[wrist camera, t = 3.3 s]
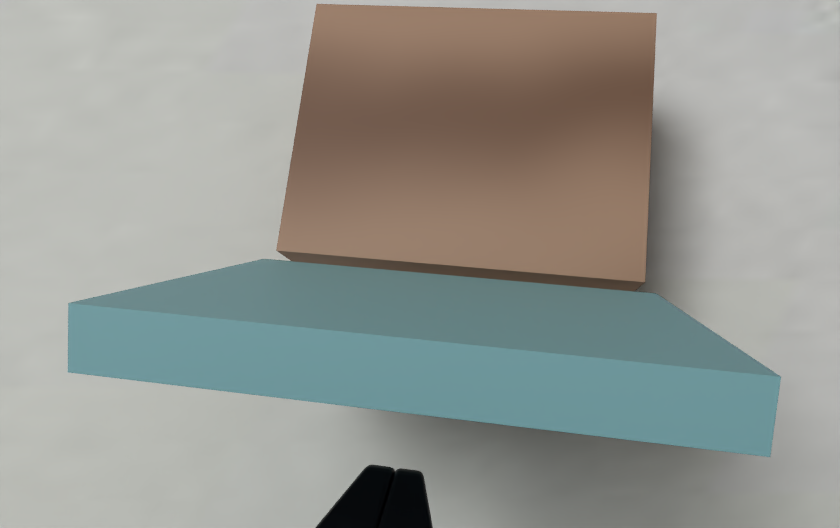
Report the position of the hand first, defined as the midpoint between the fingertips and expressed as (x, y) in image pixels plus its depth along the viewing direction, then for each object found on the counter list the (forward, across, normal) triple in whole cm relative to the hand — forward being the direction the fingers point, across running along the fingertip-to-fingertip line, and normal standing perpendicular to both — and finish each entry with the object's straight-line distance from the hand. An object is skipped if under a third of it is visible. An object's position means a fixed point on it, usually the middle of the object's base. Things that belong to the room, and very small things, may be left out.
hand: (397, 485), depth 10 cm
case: (+13, 0, +2) cm, 13 cm away
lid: (+3, 0, -1) cm, 4 cm away
